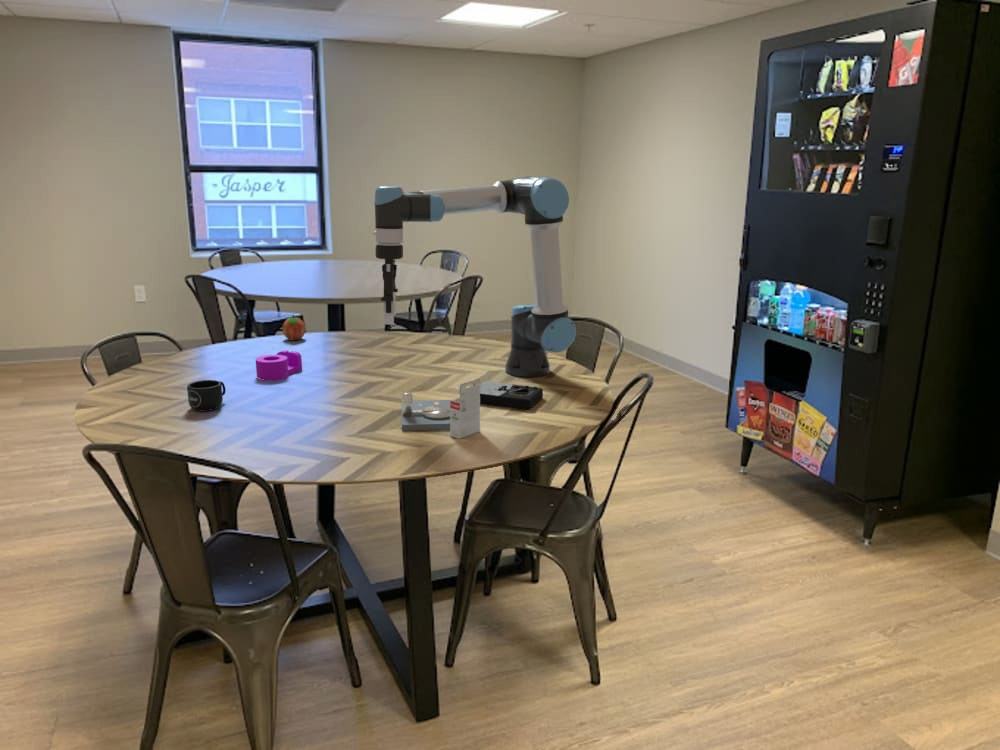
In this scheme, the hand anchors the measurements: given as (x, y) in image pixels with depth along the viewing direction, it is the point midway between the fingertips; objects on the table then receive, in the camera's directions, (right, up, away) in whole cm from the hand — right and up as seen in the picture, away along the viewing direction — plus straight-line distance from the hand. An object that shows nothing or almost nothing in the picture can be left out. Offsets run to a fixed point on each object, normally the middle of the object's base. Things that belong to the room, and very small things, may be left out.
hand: (389, 319), depth 214 cm
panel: (+14, -27, -4) cm, 31 cm away
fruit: (-50, -2, +84) cm, 98 cm away
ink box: (+22, -31, -17) cm, 42 cm away
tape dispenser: (-42, -16, +35) cm, 57 cm away
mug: (-51, -25, +1) cm, 57 cm away
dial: (+12, -27, -7) cm, 30 cm away
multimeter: (+33, -24, +12) cm, 42 cm away
